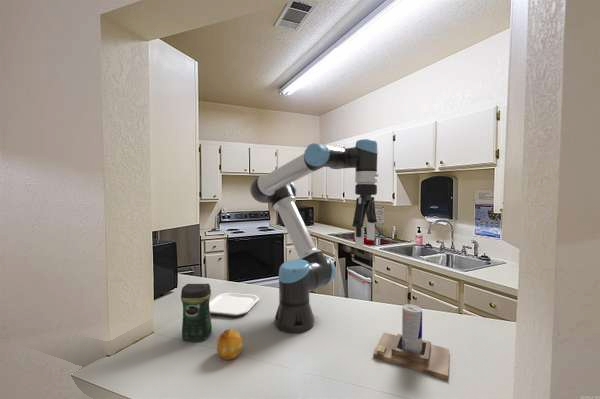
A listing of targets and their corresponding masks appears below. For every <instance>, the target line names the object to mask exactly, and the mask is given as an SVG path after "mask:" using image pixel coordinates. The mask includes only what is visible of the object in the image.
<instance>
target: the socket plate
mask: <svg viewBox="0 0 600 399" xmlns="http://www.w3.org/2000/svg"><path fill="white" fill-rule="evenodd" d="M401 347H402V333H401V334H400V333H397V334H392V333H389V332H385V331H384V332H383V333H382V334H381V337H380V339H379V341H378V343H377V346H376V347H375V349H374V351H373V354H372V355H373V358H375V359H379V360H381V361H385V362H388V363H391V364H394V365H398V366H400V367H404V368H407V369H411V370H414V371H417V372H421V373H423V374H427V375H430V376H433V377H435V378H436V377H437V378H440V379H443V380H447V381H449V371H450V370H449V369H450V368H449V366H450V364H449V363H450V360H449V359H450V348H447V347H443V346H439V345H435V344H432V341H429V340H425V339H422V352H424V354H422V355H420V354H416V353H412V352H409V351H405V350H402V348H401Z"/></svg>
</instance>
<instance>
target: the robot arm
mask: <svg viewBox="0 0 600 399" xmlns="http://www.w3.org/2000/svg"><path fill="white" fill-rule="evenodd" d="M378 154H379V151H378V142H377V140H375V139H370V138H366V139H363V138H362V139H359V140H356V142H355V146H353V147H345V148H342V147H337V146H331V145H328V144H325V143H324V144H323V143H314V142H313V143H310V144H308V145H307V147H306V149H305V150H304V153H302V154H301V155H299V156H297V157H296V158H295V157H294V159H291V160H290V161H289V162H287V163H285V164H283V165H282V166H280V167H277V169H274V170H273V171H271V172H268V173H267V174H266V173H263V174H261V175H259V176H257V177H255V179H253V181H252V182H251V184H250V188H249V190H250V192H249V193H250V195H251V197H252V198H253V199H254V201H257V202H258V203H262V204H271V206H272V209H273V210H274V211H277V212H278V214H279V216H280V218H281V221H282V223H283V224H284V227H285V229H286V232H287V233H288V236H289V239H290V240H291V243H292V245H293V247H294V250H295V251H296V254H297V256H298V259H290V260H287V261H285V262H283V263H282V264H281V265H280V266H279V270H278V294H279V295H278V302H279V304H278V306H277V310H276V313H275V317H274V326H275V328H277V329H278V330H279V331H281V332H283V333H284V332H285V333H289V334H299V333H304V332H307V331H309V330H311V328H313V326H314V324H315V316H314V313H313V309H312V307H311V304H310V292H313V291H315V290H317V289H320V288H324V287H325V286H328V285H329V284H330V283H332V282H333V280H334V278H335V274H336V266H335V263H334V261H333V259H331V258H330V257H329V256H327V255H326V256H325V255H324V253H323V250H322V249H318V248H317V247H316V244H315V242H314V240H313V238H312V235H311V234H310V232H309V229H308V227H307V226H306V223H305V222H304V219H303V218H302V216H301V213H300V211H299V209H298V208H297V205H296V201H297V198H296V196H297V188H296V184H295V183H294V182H295V181H298V180H300V179H301V178H304V177H306V176H308V175H309V174H312V173H314V172H316V171H318V170H321V169H323V168H330V169H332V170H342V169H354V168H355V174H354V175H355V177H354V179H355V180H354V182H355V183H356V185H355V189H354V194H355V195H356V196H359V197H356V201H355V203H356V204H355V211H354V214H353V215H354V216H353V221H352V227H353V228H354V229H355V230H354V231H355V232H354V234H355V235H354V246H355V247H359V248H363V247H365V246H364V244H365V243H364V241H365V240H364V239H365V234H364V233H365V231H364V230H365V226H364V223H365V219H367V222H366V240H367V241H375V228H376V227H375V226H376V225H375V224H377V223H378V220H377V212H376V205H375V204H376V203H375V196H376V195H377V193H378V185H377V184H376V183H378V177H379V174H378Z"/></svg>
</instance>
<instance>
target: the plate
mask: <svg viewBox="0 0 600 399" xmlns="http://www.w3.org/2000/svg"><path fill="white" fill-rule="evenodd" d="M259 300H260V297H259V296H258V295H256V294H249V293H248V294H247V293H237V292H235V293H234V292H225V293H220V294H217V296H215V297H214V298H213V299H212V300H209V309H210V315H215V314H217V315H216V316H224V315H226V316H225V317H234V316H236V317H240V316H243V315H246V314H248V313H249V311H250V310H251V309H252V308H253V307H254V306H255V305H256V304H257V303H258V302H259Z"/></svg>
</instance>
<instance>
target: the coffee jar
mask: <svg viewBox="0 0 600 399" xmlns="http://www.w3.org/2000/svg"><path fill="white" fill-rule="evenodd" d="M211 296H212V289H211V286H210V283H186V284H185V285H184V286H183V287H182V288H181V292H180V301H181V303H182V324H181V325H182V326H181V327H182V328H181V338H182V340H183V341H185V342H201V341H205V340H206V339H208V338H209V337H210V336H211V334H212V332H213V328H212V327H213V326H212V325H213V324H212V317H211V314H210V309H209V302H210V299H211Z"/></svg>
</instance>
